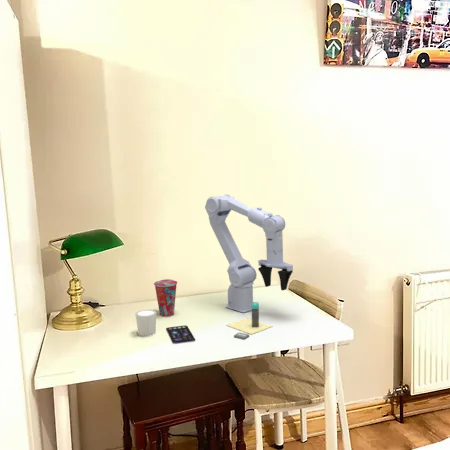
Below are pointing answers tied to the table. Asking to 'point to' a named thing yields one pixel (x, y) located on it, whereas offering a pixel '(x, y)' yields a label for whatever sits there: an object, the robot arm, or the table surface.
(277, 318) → the table surface
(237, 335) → the word tile
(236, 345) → the table surface
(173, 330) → the smartphone
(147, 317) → the white short cylinder
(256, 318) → the marker
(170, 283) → the cup
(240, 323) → the note pad
